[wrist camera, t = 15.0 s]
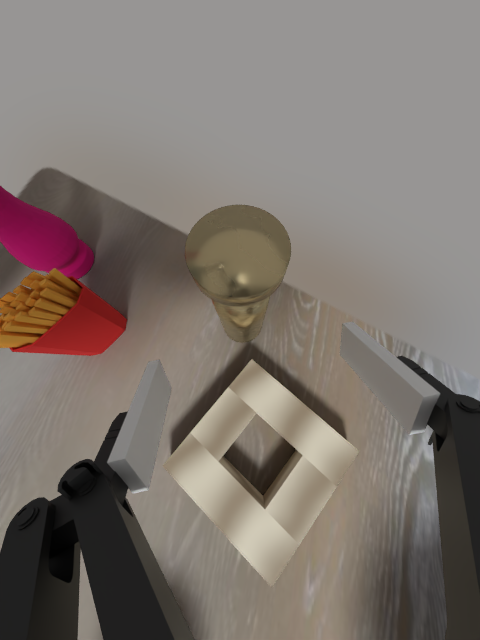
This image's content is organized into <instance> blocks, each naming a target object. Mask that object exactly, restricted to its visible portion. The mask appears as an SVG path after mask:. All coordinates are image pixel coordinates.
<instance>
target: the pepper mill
mask: <svg viewBox="0 0 480 640" xmlns="http://www.w3.org/2000/svg"><path fill="white" fill-rule="evenodd" d="M0 242H1V243H2V244H3V245H4V247H5V248H6V249H7V251H8V252H9V253H10V254H11V255H12V256H14V257H15V258H16V259H17V260H18V261H20V262H21V263H23V264H24V265H26V266H28V267H30V268H32V269H35V270H39V271H46V272H47V273H49V272H50V271H51V270H52V269H54V268H55V269H57V270H58V271H59V272H61V273H62V274H63V275H65V276H66V277H70V276H73V277H75V278H76V279H79V278H80V277H82V276H84V275H85V274H86V273H87V272H88V271H89V270H90V269H91V267H92V265H93V262H94V254H93V251H92V250H91V248H90V247H89V246H88V245H86V244H85V243H84V242H83V241H82V240H80V239H78V236H77V234H76V232H75V230H74V229H73V228H72V227H71V226H70V225H69V224H67V223H66V222H65V221H63V220H62V219H60V218H59V217H57V216H55V215H53V214H51V213H49V212H46V211H44V210H41V209H39V208H36V207H34V206H32V205H29V204H27V203H25V202H23V201H21V200H19V199H18V198H16V197H14V196H13V195H12V194H10V193H9V192H7V191H6V190H5V189H3V188H2V187H1V186H0Z"/></svg>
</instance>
